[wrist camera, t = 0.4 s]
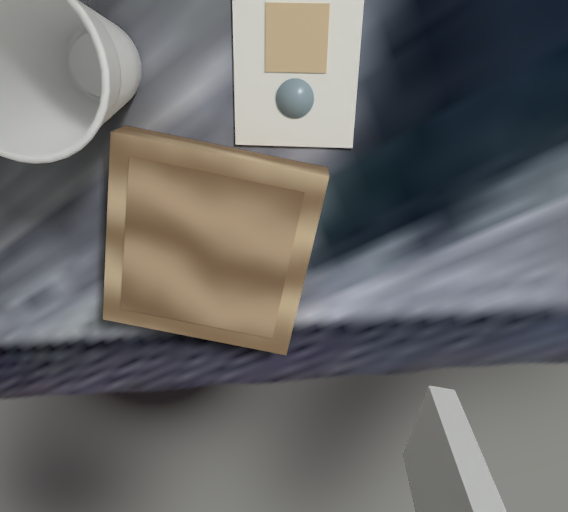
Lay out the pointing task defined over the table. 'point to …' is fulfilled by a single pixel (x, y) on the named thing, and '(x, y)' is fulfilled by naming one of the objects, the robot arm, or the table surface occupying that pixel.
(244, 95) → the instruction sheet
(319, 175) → the plinth block
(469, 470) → the robot arm
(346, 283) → the table surface
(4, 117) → the cup
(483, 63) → the table surface
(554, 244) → the table surface
